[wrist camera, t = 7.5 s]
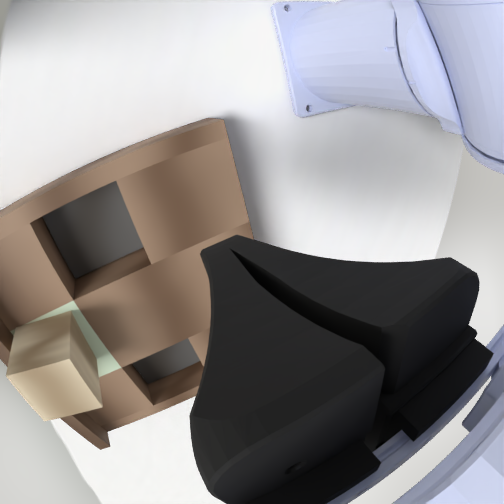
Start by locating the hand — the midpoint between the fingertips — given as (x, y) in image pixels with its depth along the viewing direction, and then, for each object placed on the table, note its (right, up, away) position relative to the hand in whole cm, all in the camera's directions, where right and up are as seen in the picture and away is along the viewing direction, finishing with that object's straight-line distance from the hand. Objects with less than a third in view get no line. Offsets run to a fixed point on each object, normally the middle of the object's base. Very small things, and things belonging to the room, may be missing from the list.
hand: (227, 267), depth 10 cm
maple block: (-11, -5, +5) cm, 13 cm away
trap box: (-7, -3, +9) cm, 12 cm away
